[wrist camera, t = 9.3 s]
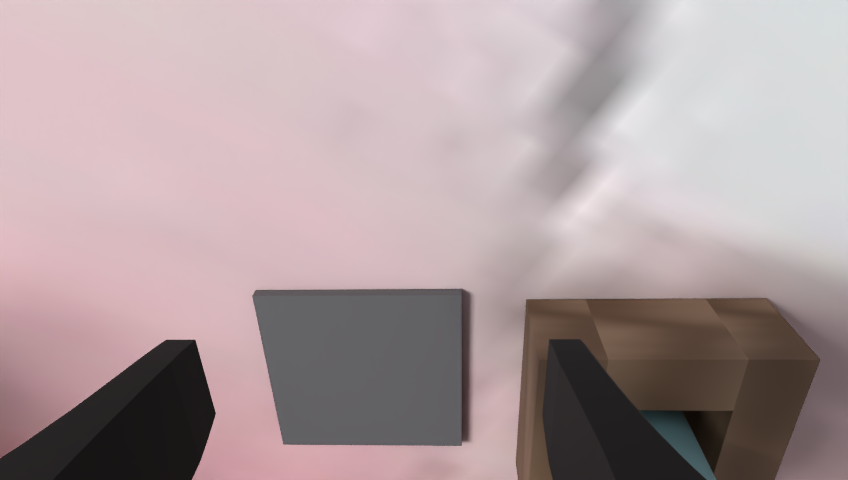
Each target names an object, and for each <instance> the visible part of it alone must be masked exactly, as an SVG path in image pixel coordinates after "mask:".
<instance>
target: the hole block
mask: <svg viewBox="0 0 848 480" xmlns="http://www.w3.org/2000/svg"><path fill="white" fill-rule="evenodd" d="M549 339H580V340H581V341H582V342H583V343H584V344H585V345H586V346H587V347H588V349H589V350H590V351H591V353H592V354H593V355H594V357H595V358H596V359H597V360H598V362H599V363H600V364H601V366H602V367H603V368H604V369H605V371H606V372H607V373H608V374H609V376H610V377H611V378H612V379H613V381H614V382H615V383H616V384H617V386H618V387H619V388H620V389H621V390H622V392H623V393H624V394H625V395H626V396H627V398H628V399H629V400H630V401H631V402H632V403H633V404H634V405H635V407H636V408H637V409H638V410H674V411H683V413H684V415H685V417H686V419H687V421H688V423H689V425H690V427H691V429H692V431H693V433H694V435H695V437H696V439H697V442H698V444H699V446H700V448H701V450H702V452H703V454H704V456H705V458H706V460H707V462H708V464H709V466H710V468H711V470H712V472H713V474H714V476H715V478H716V480H774V479H775V477H776V474H777V472H778V469H779V466H780V464H781V461H782V458H783V456H784V453H785V451H786V448H787V445H788V443H789V440H790V438H791V435H792V432H793V430H794V427H795V424H796V422H797V419H798V417H799V414H800V411H801V409H802V406H803V404H804V401H805V398H806V396H807V393H808V390H809V388H810V385H811V383H812V380H813V377H814V375H815V372H816V370H817V367H818V364H819V362H820V359H819V358H818V356H817V355H816V354H815V353H814V352H813V351H812V350H811V348H810V347H809V346H808V345H807V344H806V343H805V342H804V340H803V339H802V338H801V337H800V336H799V335H798V334H797V332H796V331H795V330H794V329H793V328H792V327H791V326H790V324H789V323H788V322H787V321H786V320H785V319H784V318H783V316H782V315H781V314H780V313H779V312H778V311H777V310H776V309H775V307H774V306H773V305H772V304H771V303H770V302H769V301H768V299H767V298H764V299H567V300H526V315H525V330H524V345H523V361H522V376H521V392H520V407H519V422H518V438H517V453H516V467H517V475H518V480H553V479H552V475H551V470H550V466H549V462H548V455H547V448H546V441H545V433H544V425H543V418H542V412H543V401H544V390H545V379H546V368H547V357H548V346H549Z"/></svg>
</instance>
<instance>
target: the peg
mask: <svg viewBox="0 0 848 480" xmlns="http://www.w3.org/2000/svg"><path fill="white" fill-rule="evenodd" d="M639 411H640V412H641V413H642V415H643V416H644V417H645V418H646V419H647V420H648V421H649V422H650V423H651V425H652V426H653V427H654V428H655V429H656V430H657V431H658V432H659V433H660V434H661V435H662V436H663V437H664V438H665V439H666V440H667V441H668V442H669V443H670V445H671V446H672V447H673V448H674V449H675V450H676V451H677V452H678V453H679V454H680V455H681V456H682V457H683V458H684V459H685V460H686V461H687V462H688V463H690V464H691V465H692V466H693V467H694V468H695V469H696V470H697V471H698V472H699V473H700V474H701V475H702V476H703V477H704V478H705V479H707V480H716V478H715V476H714V474H713V472H712V470H711V468H710V466H709V464H708V462H707V460H706V458H705V456H704V454H703V452H702V450H701V448H700V446H699V444H698V442H697V439H696V437H695V435H694V433H693V431H692V429H691V427H690V425H689V423H688V421H687V419H686V417H685V415H684V413H683V411H674V410H639Z"/></svg>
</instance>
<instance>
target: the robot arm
mask: <svg viewBox="0 0 848 480" xmlns="http://www.w3.org/2000/svg"><path fill="white" fill-rule="evenodd" d="M215 414H216V413H215V409H214V406H213V402H212V399H211V395H210V391H209V388H208V384H207V381H206V377H205V373H204V370H203V366H202V363H201V359H200V355H199V352H198V348H197V345H196V341H195V340H165V341H164V342H163V343H161V344H160V345H158V346H157V347H155V348H154V349H152V350H151V351H150V352H148V353H147V354H145V355H144V356H143V357H141V358H140V359H139V360H137V361H136V362H135V363H133V364H132V365H131V366H129V367H128V368H127V369H126V370H124V371H123V372H122V373H120V374H119V375H118V376H116V377H115V378H114V379H112V380H111V381H110V382H108V383H107V384H106V385H104V386H103V387H102V388H100V389H99V390H98V391H96V392H95V393H94V394H92V395H91V396H90V397H88V398H87V399H86V400H84V401H83V402H82V403H80V404H79V405H78V406H76V407H75V408H73V409H72V410H71V411H69V412H68V413H66V414H65V415H63V416H62V417H61V418H59V419H58V420H56V421H55V422H53V423H52V424H50V425H49V426H48V427H46V428H45V429H43V430H42V431H40V432H39V433H38V434H36V435H35V436H33V437H32V438H30V439H29V440H28V441H26V442H25V443H23V444H22V445H20V446H19V447H17V448H16V449H14V450H13V451H11V452H10V453H8V454H6V455H5V456H3V457H2V458H0V480H192V478H193V476H194V474H195V471H196V469H197V467H198V465H199V463H200V460H201V458H202V455H203V452H204V449H205V446H206V443H207V440H208V437H209V434H210V431H211V427H212V424H213V421H214V418H215ZM542 418H543V425H544V433H545V441H546V448H547V455H548V462H549V466H550V470H551V475H552V479H553V480H707V479H705V478H704V477H703V476H702V475H701V474H700V473H699V472H698V471H697V470H696V469H695V468H694V467H693V466H692V465H691V464H690V463H688V462H687V461H686V460H685V459H684V458H683V457H682V456H681V455H680V454H679V453H678V452H677V451H676V450H675V449H674V448H673V447H672V446H671V445H670V443H669V442H668V441H667V440H666V439H665V438H664V437H663V436H662V435H661V434H660V433H659V432H658V431H657V430H656V429H655V428H654V427H653V426H652V425H651V423H650V422H649V421H648V420H647V419H646V418H645V417H644V416H643V415H642V413H641V412H640V411H639V410H638V409H637V408H636V407H635V405H634V404H633V403H632V402H631V401H630V400H629V399H628V398H627V396H626V395H625V394H624V393H623V392H622V390H621V389H620V388H619V387H618V386H617V384H616V383H615V382H614V381H613V379H612V378H611V377H610V376H609V374H608V373H607V372H606V371H605V369H604V368H603V367H602V366H601V364H600V363H599V362H598V360H597V359H596V358H595V357H594V355H593V354H592V353H591V351H590V350H589V349H588V347H587V346H586V345H585V344H584V343H583V342H582V341H581V340H580V339H549V346H548V357H547V368H546V379H545V390H544V401H543V412H542Z"/></svg>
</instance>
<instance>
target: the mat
mask: <svg viewBox="0 0 848 480" xmlns="http://www.w3.org/2000/svg"><path fill="white" fill-rule="evenodd" d="M253 301H254V306H255V310H256V315H257V320H258V325H259V330H260V334H261V339H262V344H263V349H264V354H265V358H266V363H267V368H268V373H269V377H270V382H271V387H272V392H273V397H274V401H275V406H276V411H277V416H278V421H279V425H280V430H281V435H282V440H283V444H291V445H432V446H462V292H461V289H409V290H256V291H255V293H254V294H253Z"/></svg>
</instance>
